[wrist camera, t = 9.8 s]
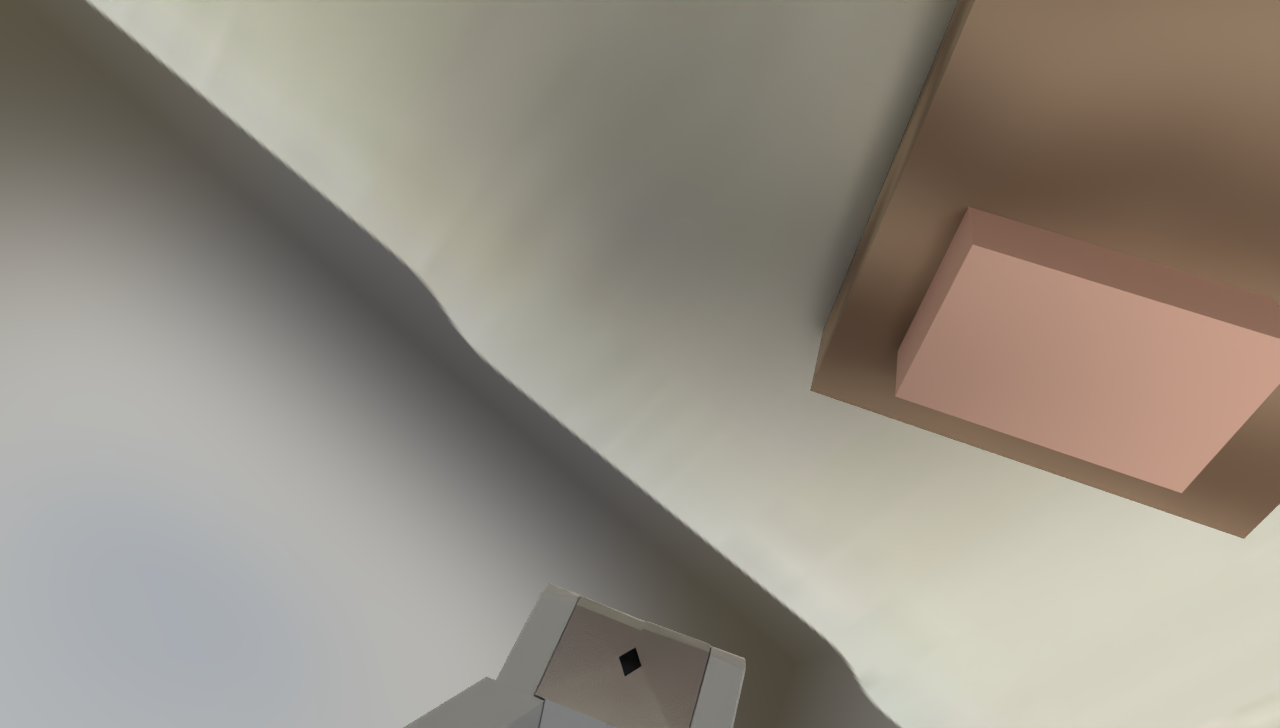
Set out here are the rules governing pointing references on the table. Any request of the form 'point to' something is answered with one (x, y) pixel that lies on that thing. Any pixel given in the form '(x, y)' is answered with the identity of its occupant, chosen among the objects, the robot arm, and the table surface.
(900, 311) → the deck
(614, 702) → the robot arm
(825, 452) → the table surface
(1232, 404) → the clay tile
